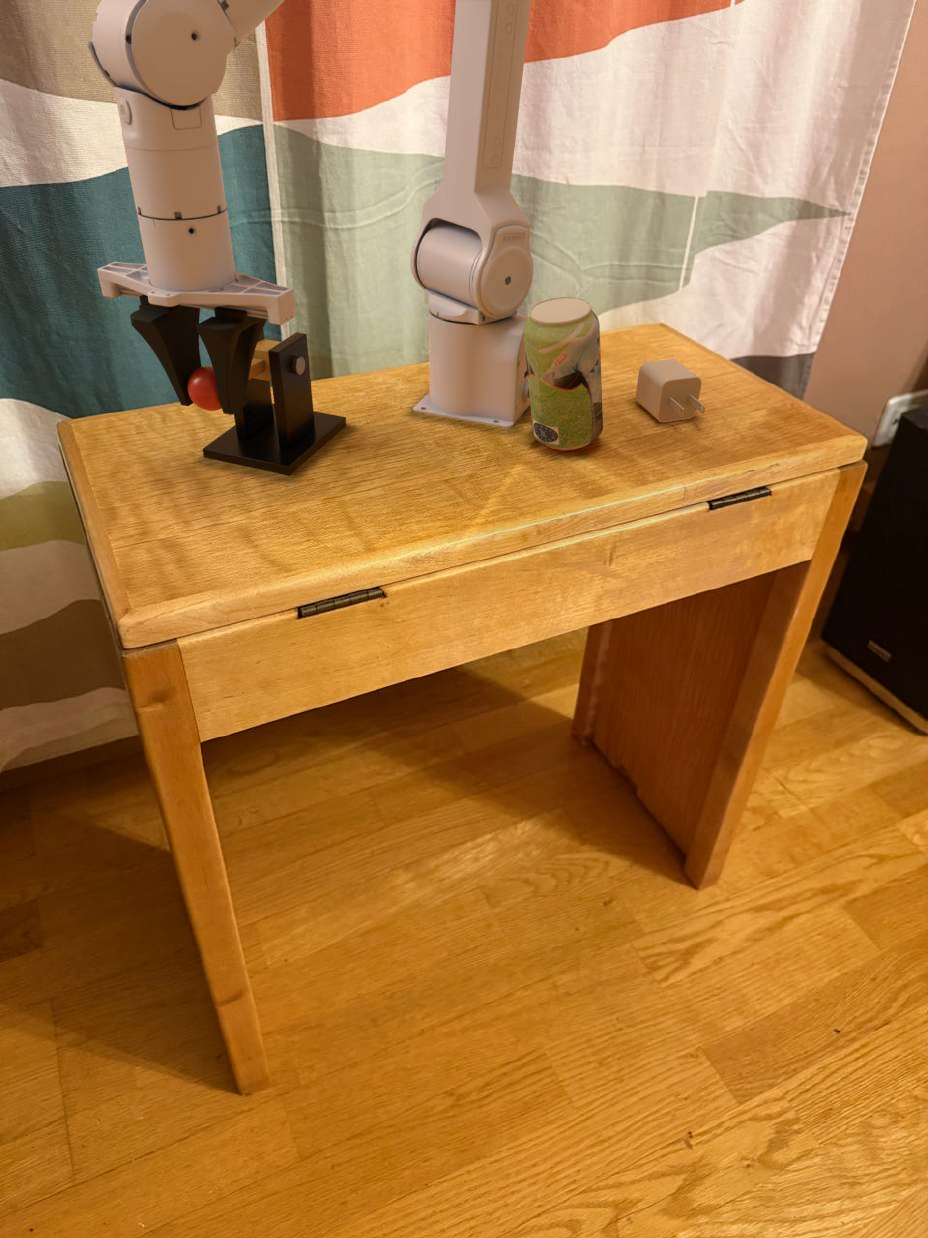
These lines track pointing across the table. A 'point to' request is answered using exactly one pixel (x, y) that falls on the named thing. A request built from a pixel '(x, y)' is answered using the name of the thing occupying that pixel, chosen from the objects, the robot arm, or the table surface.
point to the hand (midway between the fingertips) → (213, 404)
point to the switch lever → (204, 380)
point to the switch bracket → (278, 416)
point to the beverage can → (564, 372)
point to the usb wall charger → (668, 390)
